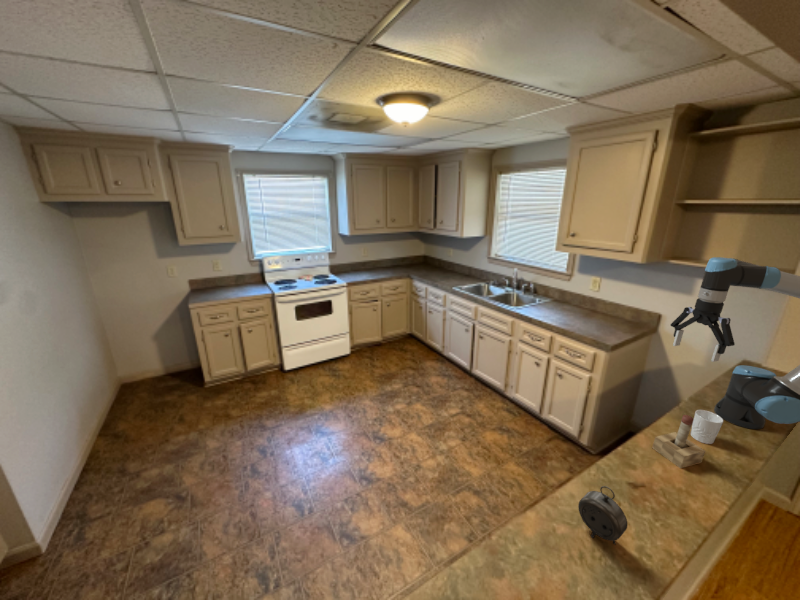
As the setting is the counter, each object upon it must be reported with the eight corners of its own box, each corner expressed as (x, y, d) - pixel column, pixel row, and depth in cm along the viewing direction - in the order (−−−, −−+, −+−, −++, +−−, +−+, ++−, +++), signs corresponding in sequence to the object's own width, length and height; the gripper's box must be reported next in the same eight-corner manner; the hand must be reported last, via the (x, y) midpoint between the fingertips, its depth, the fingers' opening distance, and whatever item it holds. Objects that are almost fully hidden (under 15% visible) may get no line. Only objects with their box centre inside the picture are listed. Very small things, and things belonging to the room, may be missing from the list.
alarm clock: (622, 544, 89) (636, 497, 84) (613, 556, 86) (626, 508, 81) (581, 513, 97) (592, 469, 92) (571, 523, 94) (581, 478, 89)
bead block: (672, 442, 126) (675, 431, 124) (701, 462, 117) (705, 450, 115) (652, 447, 123) (655, 436, 122) (680, 468, 114) (684, 456, 112)
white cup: (720, 446, 124) (728, 424, 121) (696, 443, 126) (704, 421, 123) (706, 432, 131) (714, 411, 128) (683, 429, 133) (690, 408, 130)
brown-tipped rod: (674, 451, 121) (686, 414, 117) (683, 457, 119) (695, 419, 114) (669, 453, 121) (680, 415, 116) (677, 458, 118) (689, 420, 113)
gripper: (668, 291, 132) (655, 340, 138) (745, 312, 109) (725, 369, 115) (682, 290, 134) (668, 338, 140) (760, 310, 111) (740, 366, 117)
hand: (694, 352), depth 128 cm, fingers open, 13 cm apart
